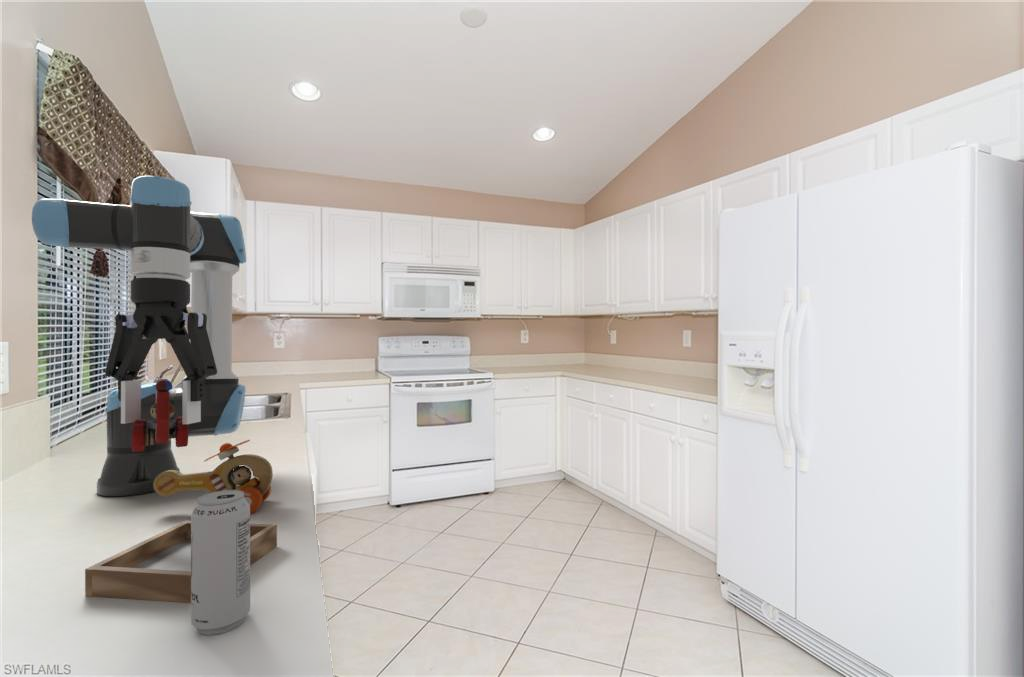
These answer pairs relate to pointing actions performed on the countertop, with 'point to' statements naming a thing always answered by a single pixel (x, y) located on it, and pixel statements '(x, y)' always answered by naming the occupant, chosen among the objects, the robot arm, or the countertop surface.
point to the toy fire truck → (160, 422)
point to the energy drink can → (220, 561)
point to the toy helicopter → (223, 477)
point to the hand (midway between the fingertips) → (161, 422)
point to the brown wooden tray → (161, 565)
